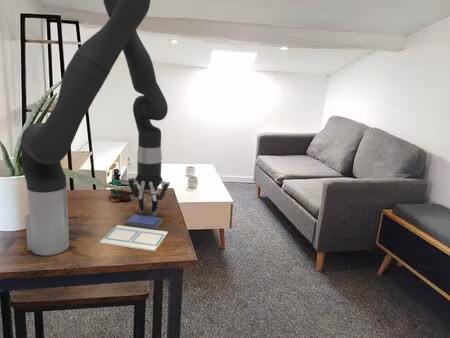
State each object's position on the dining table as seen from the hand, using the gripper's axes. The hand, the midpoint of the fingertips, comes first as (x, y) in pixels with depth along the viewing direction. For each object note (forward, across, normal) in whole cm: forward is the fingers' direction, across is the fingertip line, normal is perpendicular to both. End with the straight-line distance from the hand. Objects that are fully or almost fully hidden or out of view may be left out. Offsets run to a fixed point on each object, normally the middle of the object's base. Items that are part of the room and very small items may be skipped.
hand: (148, 209), depth 130 cm
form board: (+2, +2, -17) cm, 17 cm away
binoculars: (+2, -14, +12) cm, 19 cm away
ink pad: (+2, +1, -7) cm, 7 cm away
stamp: (+2, 0, 0) cm, 2 cm away
